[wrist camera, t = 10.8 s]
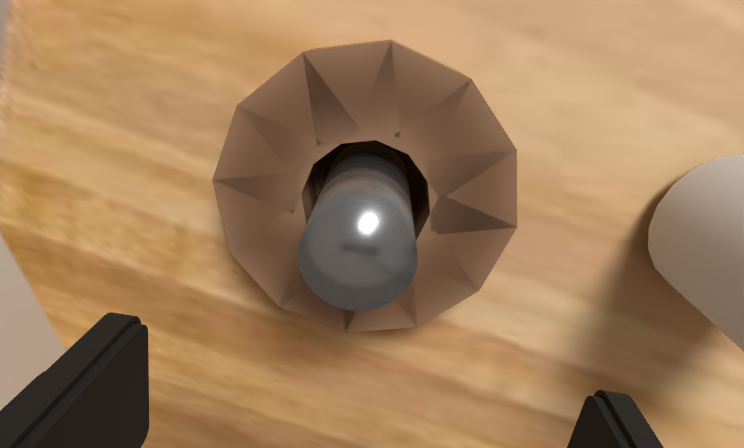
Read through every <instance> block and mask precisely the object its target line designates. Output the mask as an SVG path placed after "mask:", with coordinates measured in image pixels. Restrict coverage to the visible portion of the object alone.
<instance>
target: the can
mask: <svg viewBox="0 0 744 448" xmlns="http://www.w3.org/2000/svg"><path fill="white" fill-rule="evenodd" d="M648 251H649V254H650V256H651V259H652V262H653V265H654V268H655V269H656V270H657V271H658V272H659V273H660V274H661V275H662V277H663V278H664V279H665V280H666V281H667V282H668V283H669V284H670V285H671V286H672V287H674V288H675V289H676V290H677V291H678V292H679V293H680V294H681V295H682V296H683V297H684V298H686V299H687V300H688V301H689V302H690V303H691V304H692V305H693V306H694V307H695V308H697V309H698V310H699V311H700V312H701V313H702V314H703V315H704V316H705V317H706V318H708V319H709V320H710V321H711V322H712V323H713V324H714V325H715V326H716V327H717V328H719V329H720V330H721V331H722V332H723V333H724V334H725V335H726V336H727V337H728V338H730V339H731V340H732V341H733V342H734V343H735V344H736V345H737V346H738V347H739V348H741V349H742V350H743V351H744V153H741V154H735V155H728V156H721V157H718V158H716V159H714V160H711V161H709V162H707V163H705V164H702V165H700V166H698V167H696V168H694V169H693V170H691V171H690V172H689V173H687V174H686V175H685V176H684V177H682V178H681V179H680V180H679V181H677V182H676V183H675V184H673V185H672V187H671V188H670V189H669V191H668V192H667V193H666V195H665V196H664V197H663V199H662V200H661V201H660V202H659V204H658V205H657V207H656V210H655V212H654V215H653V218H652V220H651V223H650V225H649V231H648Z"/></svg>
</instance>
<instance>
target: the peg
mask: <svg viewBox="0 0 744 448" xmlns="http://www.w3.org/2000/svg"><path fill="white" fill-rule="evenodd" d="M298 261H299V267H300V271H301V273H302V276H303V278H304V280H305V282H306V283H307V285H308V286H309V287H310V289H311V290H312V291H313V292H314V293H315V294H316V295H317V296H318V297H320V298H321V299H322V300H324V301H326V302H327V303H329V304H331V305H333V306H336V307H339V308H342V309H346V310H353V311H367V310H373V309H377V308H380V307H383V306H385V305H387V304H389V303H391V302H393V301H394V300H396V299H397V298H399V297H400V296H401V295H402V294H403V293H404V292H405V291H406V289H407V288H408V287H409V285H410V284H411V282H412V280H413V278H414V276H415V273H416V269H417V263H418V252H417V245H416V237H415V230H414V222H413V214H412V207H411V199H410V192H409V184H408V176H407V171H406V168H405V166H404V163H403V162H402V160H401V158H400V157H399V156H398V155H397V154H396V153H395V152H394V151H393V150H391V149H390V148H388V147H386V146H384V145H382V144H379V143H374V142H361V143H357V144H353V145H351V146H349V147H347V148H346V149H344V150H343V151H342V152H340V153H339V154H338V156H337V157H336V158H335V160H334V161H333V163H332V165H331V167H330V170H329V172H328V174H327V177H326V179H325V182H324V184H323V187H322V189H321V191H320V194H319V196H318V199H317V201H316V203H315V206H314V208H313V211H312V213H311V215H310V218H309V220H308V223H307V225H306V228H305V230H304V232H303V235H302V237H301V240H300V243H299V249H298Z"/></svg>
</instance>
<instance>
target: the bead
mask: <svg viewBox="0 0 744 448" xmlns="http://www.w3.org/2000/svg"><path fill="white" fill-rule="evenodd" d="M372 140H377V141H379V142H381V143H384V144H386V145H388V146H390V147H393V148H395V149H397V150H399V151H402V152H404V153H406V154H408V155H409V156H410V158H411V159H412V160H413V162H414V163H415V165H416V166H417V167H418V169H419V170H420V172H421V173H422V174H423V176H424V187H425V190H424V192H423V194H422V196H421V198H420V200H419V202H418V204H417V206H416V208H415V210H414V212H413V222H414V230H415V237H416V245H417V252H418V263H417V269H416V273H415V276H414V278H413V280H412V282H411V284H410V285H409V287H408V288H407V289H406V291H405V292H404V293H403V294H402V295H401V296H400V297H399V298H397V299H396V300H394V301H393V302H391V303H389V304H387V305H385V306H383V307H380V308H377V309H373V310H367V311H353V310H346V309H342V308H339V307H336V306H333V305H331V304H329V303H327V302H326V301H324V300H322V299H321V298H320V297H318V296H317V295H316V294H315V293H314V292H313V291H312V290H311V289H310V287H309V286H308V285H307V283H306V282H305V280H304V278H303V276H302V273H301V271H300V267H299V261H298V249H299V243H300V240H301V237H302V235H303V232H304V230H305V228H306V225H307V223H308V220H309V218H310V215H311V213H312V211H313V208H314V206H315V203H316V201H317V195H316V189H315V183H314V177H313V171H314V168H315V166H316V163H317V161H318V160H319V159H321V158H322V157H324V156H325V155H326V154H328V153H329V152H330V151H332V150H333V149H334V148H336V147H337V146H338V145H340V144H343V143H353V142H363V141H372ZM212 181H213V185H214V189H215V194H216V198H217V202H218V206H219V210H220V215H221V219H222V223H223V227H224V231H225V236H226V240H227V244H228V248H229V252H230V254H231V255H232V256H233V257H234V258H235V259H236V261H237V262H238V263H239V264H240V265H241V266H242V267H243V268H244V269H245V270H246V272H247V273H248V274H249V275H250V276H251V277H252V278H253V279H254V280H255V281H256V282H257V284H258V285H259V286H260V287H261V288H262V289H263V290H264V291H265V292H266V293H267V295H268V296H269V297H270V298H271V299H272V300H273V301H274V302H275V303H276V304H277V306H278V307H280V308H283V309H286V310H288V311H291V312H293V313H296V314H298V315H301V316H304V317H306V318H309V319H311V320H314V321H317V322H319V323H322V324H324V325H327V326H329V327H332V328H335V329H337V330H340V331H342V332H345V333H350V332H363V331H376V330H389V329H402V328H415V327H419V326H420V325H422V324H424V323H425V322H427V321H429V320H430V319H432V318H434V317H436V316H437V315H439V314H441V313H442V312H444V311H446V310H447V309H449V308H451V307H452V306H454V305H456V304H457V303H459V302H461V301H462V300H464V299H466V298H468V297H469V296H471V295H473V294H474V293H476V292H478V291H479V290H480V288H481V287H482V285H483V283H484V282H485V280H486V278H487V277H488V275H489V273H490V272H491V270H492V268H493V267H494V265H495V263H496V262H497V260H498V258H499V257H500V255H501V253H502V252H503V250H504V248H505V247H506V245H507V243H508V241H509V240H510V238H511V236H512V235H513V233H514V231H515V230H516V228H517V149H516V148H515V146H514V145H513V143H512V142H511V140H510V139H509V137H508V135H507V134H506V132H505V131H504V129H503V128H502V126H501V125H500V123H499V121H498V120H497V118H496V117H495V115H494V114H493V112H492V110H491V109H490V107H489V106H488V104H487V103H486V101H485V100H484V98H483V96H482V95H481V93H480V92H479V90H478V89H477V87H476V85H475V84H474V82H473V81H472V79H470V78H469V77H467V76H465V75H464V74H462V73H460V72H458V71H456V70H454V69H452V68H450V67H448V66H446V65H443V64H441V63H439V62H437V61H435V60H433V59H431V58H429V57H426V56H424V55H422V54H420V53H418V52H416V51H414V50H412V49H409V48H407V47H405V46H403V45H401V44H399V43H397V42H395V41H392V40H385V41H376V42H368V43H359V44H351V45H342V46H334V47H325V48H317V49H312V50H308V51H304V52H302V53H301V54H300V55H298V56H297V57H296V58H295V59H293V60H292V61H291V62H290V63H289V64H287V65H286V66H285V67H284V68H282V69H281V70H280V71H279V72H277V73H276V74H275V75H274V76H273V77H271V78H270V79H269V80H268V81H266V82H265V83H264V84H263V85H261V86H260V87H259V88H258V89H257V90H255V91H254V92H253V93H252V94H250V95H249V96H248V97H247V98H245V99H244V100H243V101H242V102H241V103H239V104H238V105H237V107H236V110H235V113H234V116H233V119H232V122H231V125H230V128H229V131H228V134H227V137H226V140H225V143H224V146H223V149H222V152H221V155H220V159H219V162H218V165H217V168H216V171H215V174H214V177H213V180H212Z"/></svg>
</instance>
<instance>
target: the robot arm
mask: <svg viewBox="0 0 744 448" xmlns="http://www.w3.org/2000/svg"><path fill="white" fill-rule="evenodd" d="M148 429H149V376H148V328H147V326H146V325H142V324H141V321H140V319H139V318H138V317H137V316H131V315H124V314H118V313H112V312H111V313H108V314H106V315H105V316H104V317H103V318H101V319H100V320H99V321H98V322H97V323H96V324H95V325H94V326H93V327H92V328H91V329H90V330H89V331H88V332H87V333H86V334H85V335H83V336H82V337H81V338H80V339H79V340H78V341H77V342H76V343H75V344H74V345H73V346H72V347H71V348H70V349H69V350H68V351H67V352H65V353H64V354H63V355H62V356H61V357H60V358H59V359H58V360H57V361H56V362H55V363H54V364H53V365H52V366H51V367H50V368H49V369H47V370H46V371H45V372H43V373H41V374H40V375H39V376H37V377H36V378H35V379H34V380H33V381H32V382H31V383H30V384H29V385H28V386H26V388H24V389H23V390H22V391H21V392H20V393H19V394H18V395H17V396H16V397H15V398H14V399H13V400H12V401H11V402H9V403H8V405H6V406H5V407H4V408H3V409H2V410H1V411H0V448H141V446H142V445H143V443H144V441H145V439H146V436H147V433H148ZM567 448H664V447H663V446H662V444H661V443H660V441H659V440H658V438H657V437H656V435H655V433H654V432H653V430H652V429H651V427H650V426H649V424H648V423H647V421H646V420H645V418H644V416H643V415H642V413H641V412H640V410H639V409H638V407H637V406H636V404H635V403H634V401H633V400H632V398H631V397H630V396H629V395H627V394H622V393H616V392H609V391H603V390H599V391H597V392H596V393H595V394H594V396H588V397H587V398H586V400H585V402H584V405H583V407H582V410H581V413H580V415H579V418H578V420H577V423H576V426H575V428H574V431H573V434H572V436H571V439H570V441H569V444H568V447H567Z"/></svg>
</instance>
